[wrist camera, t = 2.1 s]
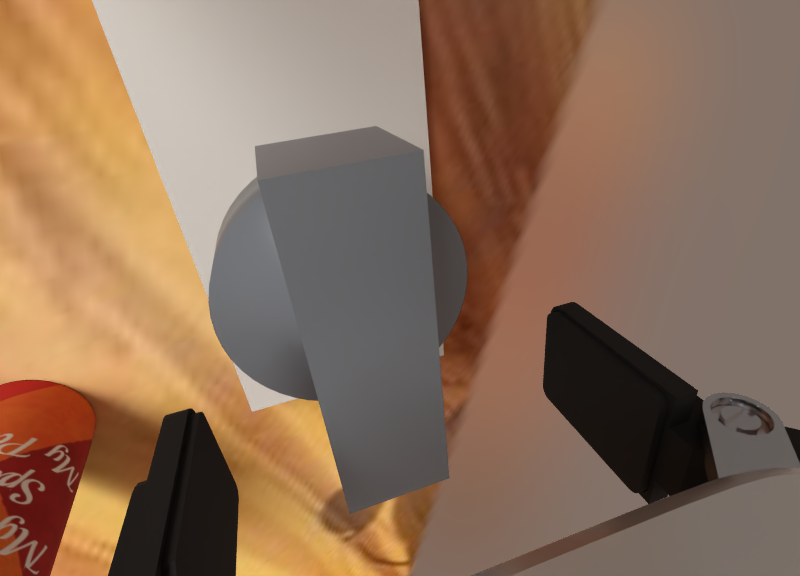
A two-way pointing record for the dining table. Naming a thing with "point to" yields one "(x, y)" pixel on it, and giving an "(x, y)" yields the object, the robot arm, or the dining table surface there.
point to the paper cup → (39, 470)
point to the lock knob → (346, 299)
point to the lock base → (259, 93)
